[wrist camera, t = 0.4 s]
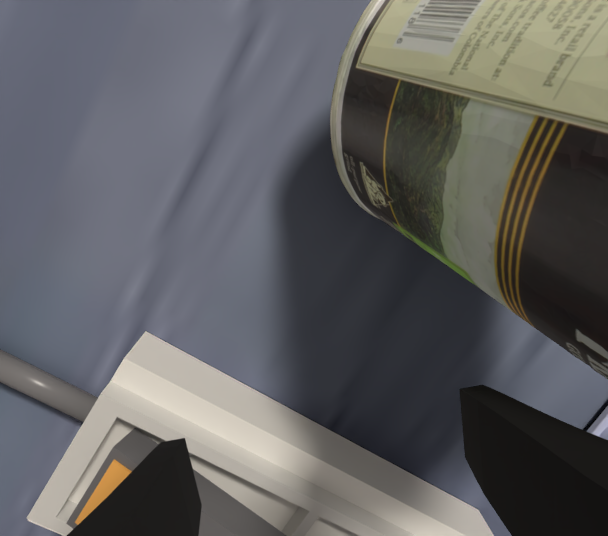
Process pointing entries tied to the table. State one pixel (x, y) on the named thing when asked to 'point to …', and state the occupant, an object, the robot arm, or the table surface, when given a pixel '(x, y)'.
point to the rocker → (215, 502)
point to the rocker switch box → (235, 450)
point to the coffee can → (489, 148)
